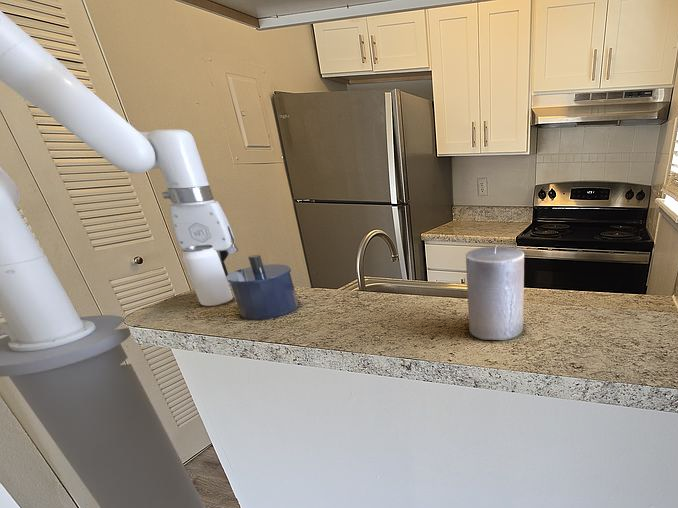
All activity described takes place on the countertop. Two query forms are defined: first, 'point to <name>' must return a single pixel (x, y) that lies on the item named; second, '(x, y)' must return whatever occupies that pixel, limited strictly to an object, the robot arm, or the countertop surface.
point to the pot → (265, 298)
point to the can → (207, 275)
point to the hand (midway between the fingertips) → (221, 279)
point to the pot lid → (257, 272)
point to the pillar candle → (495, 292)
